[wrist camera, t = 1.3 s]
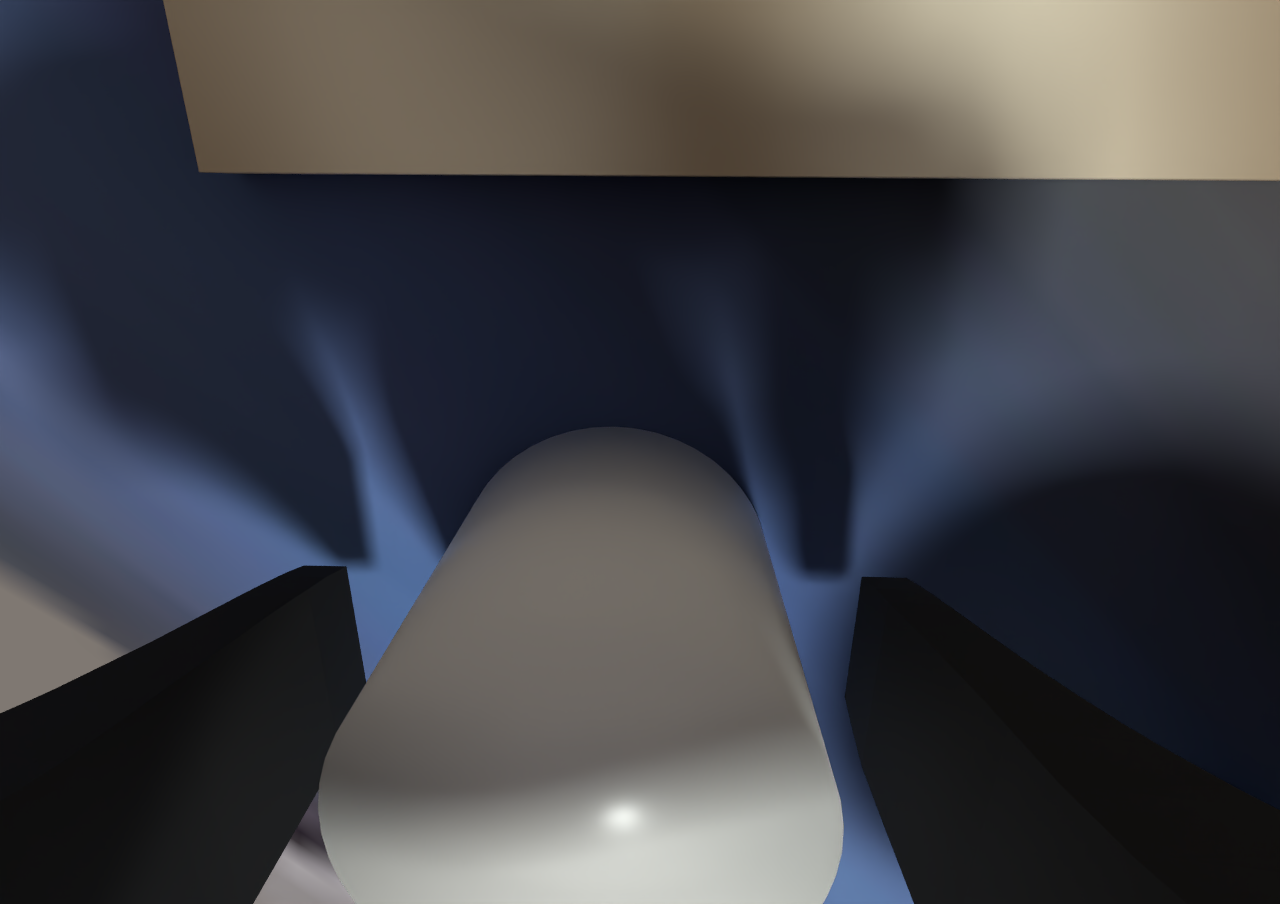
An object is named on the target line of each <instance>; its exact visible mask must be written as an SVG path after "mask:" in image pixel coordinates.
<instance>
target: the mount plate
mask: <svg viewBox="0 0 1280 904" xmlns="http://www.w3.org/2000/svg"><path fill="white" fill-rule="evenodd" d="M163 2H164V7H165V12H166V16H167V21H168V26H169V31H170V36H171V40H172V45H173V50H174V55H175V59H176V64H177V69H178V74H179V79H180V83H181V88H182V93H183V98H184V102H185V107H186V112H187V117H188V122H189V126H190V131H191V136H192V141H193V145H194V150H195V155H196V160H197V164H198V169H199V172H209V173H236V174H372V175H514V176H657V177H799V178H942V179H1084V180H1226V181H1280V0H163Z"/></svg>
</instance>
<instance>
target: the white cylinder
mask: <svg viewBox="0 0 1280 904" xmlns="http://www.w3.org/2000/svg"><path fill="white" fill-rule="evenodd" d="M318 811H319V819H320V826H321V834H322V837H323V840H324V844H325V847H326V850H327V853H328V856H329V859H330V861H331V863H332V865H333V867H334V869H335V871H336V873H337V875H338V878H339V880H340V882H341V883H342V885H343V886H344V887H345V889H346V890H347V892H348V893H349V895H350V896H351V898H352V899H353V901H354V902H355V904H823V902H824V901H825V899H826V897H827V895H828V893H829V890H830V888H831V886H832V884H833V881H834V879H835V877H836V874H837V870H838V866H839V862H840V858H841V854H842V844H843V829H844V824H843V816H842V807H841V800H840V796H839V793H838V789H837V786H836V782H835V779H834V775H833V772H832V768H831V765H830V762H829V758H828V755H827V751H826V748H825V744H824V741H823V737H822V734H821V731H820V727H819V724H818V720H817V717H816V713H815V710H814V706H813V703H812V699H811V696H810V693H809V689H808V686H807V682H806V679H805V675H804V672H803V668H802V665H801V662H800V658H799V655H798V651H797V648H796V644H795V641H794V637H793V634H792V630H791V627H790V624H789V620H788V617H787V613H786V610H785V606H784V603H783V599H782V596H781V593H780V589H779V586H778V582H777V579H776V575H775V572H774V568H773V565H772V561H771V558H770V555H769V551H768V548H767V544H766V541H765V537H764V534H763V531H762V527H761V524H760V521H759V519H758V517H757V515H756V512H755V510H754V508H753V506H752V504H751V502H750V501H749V499H748V498H747V496H746V495H745V493H744V492H743V490H742V489H741V488H740V486H739V485H738V484H737V483H736V482H735V481H734V480H733V478H732V477H731V476H730V475H729V474H728V473H727V472H726V471H725V470H724V469H722V468H721V467H720V466H719V465H718V464H717V463H715V462H714V461H713V460H712V459H710V458H709V457H707V456H706V455H704V454H703V453H701V452H700V451H698V450H696V449H695V448H693V447H691V446H689V445H687V444H685V443H682V442H680V441H678V440H676V439H673V438H670V437H667V436H665V435H662V434H659V433H656V432H651V431H646V430H641V429H636V428H625V427H593V428H586V429H580V430H574V431H569V432H566V433H563V434H560V435H557V436H553V437H550V438H548V439H546V440H544V441H541V442H539V443H537V444H535V445H533V446H531V447H529V448H528V449H526V450H525V451H523V452H521V453H520V454H518V455H517V456H515V457H514V458H513V459H511V460H510V461H509V462H508V463H507V464H506V465H504V466H503V467H502V468H501V469H500V470H499V471H498V472H497V473H496V474H495V475H494V477H493V478H492V479H491V480H490V481H489V482H488V483H487V485H486V486H485V488H484V489H483V491H482V492H481V494H480V495H479V497H478V499H477V500H476V502H475V503H474V505H473V507H472V508H471V510H470V512H469V513H468V515H467V517H466V518H465V520H464V522H463V523H462V525H461V527H460V528H459V530H458V532H457V533H456V535H455V537H454V538H453V540H452V542H451V543H450V545H449V547H448V548H447V550H446V552H445V553H444V555H443V557H442V558H441V560H440V561H439V563H438V565H437V566H436V568H435V570H434V571H433V573H432V575H431V576H430V578H429V580H428V581H427V583H426V585H425V586H424V588H423V590H422V591H421V593H420V595H419V596H418V598H417V600H416V601H415V603H414V605H413V606H412V608H411V610H410V611H409V613H408V615H407V616H406V618H405V620H404V621H403V623H402V625H401V626H400V628H399V629H398V631H397V633H396V634H395V636H394V638H393V639H392V641H391V643H390V644H389V646H388V648H387V649H386V651H385V653H384V654H383V656H382V658H381V659H380V661H379V663H378V664H377V666H376V668H375V669H374V671H373V673H372V674H371V676H370V678H369V679H368V681H367V683H366V684H365V686H364V688H363V689H362V691H361V693H360V694H359V696H358V697H357V699H356V701H355V702H354V704H353V706H352V707H351V709H350V711H349V712H348V714H347V716H346V717H345V719H344V721H343V722H342V724H341V726H340V727H339V729H338V731H337V732H336V734H335V736H334V739H333V741H332V743H331V746H330V748H329V750H328V753H327V755H326V757H325V761H324V765H323V769H322V774H321V778H320V782H319V801H318Z"/></svg>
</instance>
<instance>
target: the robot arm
mask: <svg viewBox="0 0 1280 904" xmlns="http://www.w3.org/2000/svg"><path fill="white" fill-rule="evenodd" d="M365 684H366V679H365V673H364V667H363V661H362V655H361V649H360V644H359V638H358V632H357V626H356V620H355V614H354V608H353V603H352V597H351V591H350V585H349V579H348V573H347V567H346V566H302V567H299V568H297V569H294V570H292V571H289V572H287V573H285V574H282V575H280V576H278V577H276V578H274V579H272V580H270V581H268V582H266V583H264V584H262V585H260V586H258V587H256V588H254V589H252V590H250V591H248V592H246V593H244V594H242V595H240V596H238V597H236V598H234V599H232V600H231V601H229V602H227V603H225V604H223V605H221V606H219V607H217V608H215V609H213V610H211V611H209V612H208V613H206V614H204V615H202V616H200V617H198V618H196V619H194V620H192V621H190V622H188V623H187V624H185V625H183V626H181V627H179V628H177V629H175V630H173V631H171V632H169V633H167V634H165V635H164V636H162V637H160V638H158V639H156V640H154V641H152V642H150V643H148V644H146V645H144V646H142V647H140V648H138V649H136V650H134V651H132V652H130V653H128V654H126V655H123V656H121V657H119V658H117V659H115V660H113V661H111V662H109V663H107V664H105V665H103V666H101V667H99V668H97V669H95V670H93V671H91V672H89V673H87V674H85V675H83V676H80V677H78V678H76V679H74V680H72V681H70V682H68V683H66V684H64V685H62V686H60V687H58V688H56V689H54V690H52V691H50V692H47V693H45V694H43V695H41V696H38V697H36V698H34V699H32V700H30V701H27V702H25V703H23V704H21V705H19V706H16V707H14V708H12V709H9V710H7V711H5V712H3V713H0V904H253V903H254V901H255V900H256V898H257V896H258V894H259V893H260V891H261V889H262V887H263V886H264V884H265V882H266V880H267V879H268V877H269V875H270V873H271V872H272V870H273V868H274V866H275V865H276V863H277V861H278V859H279V858H280V856H281V854H282V852H283V851H284V849H285V847H286V846H287V844H288V842H289V840H290V839H291V837H292V835H293V833H294V832H295V830H296V828H297V826H298V825H299V823H300V821H301V819H302V818H303V816H304V814H305V812H306V811H307V809H308V807H309V805H310V804H311V802H312V800H313V798H314V797H315V795H316V793H317V791H318V789H319V782H320V778H321V774H322V769H323V765H324V761H325V757H326V755H327V753H328V750H329V748H330V746H331V743H332V741H333V739H334V736H335V734H336V732H337V731H338V729H339V727H340V726H341V724H342V722H343V721H344V719H345V717H346V716H347V714H348V712H349V711H350V709H351V707H352V706H353V704H354V702H355V701H356V699H357V697H358V696H359V694H360V693H361V691H362V689H363V688H364V686H365ZM845 700H846V704H847V708H848V713H849V717H850V721H851V726H852V730H853V734H854V738H855V742H856V746H857V750H858V754H859V758H860V761H861V765H862V768H863V771H864V774H865V776H866V779H867V782H868V784H869V787H870V790H871V792H872V795H873V798H874V800H875V803H876V806H877V808H878V811H879V814H880V816H881V819H882V822H883V824H884V827H885V829H886V832H887V835H888V837H889V840H890V842H891V845H892V848H893V850H894V853H895V855H896V858H897V861H898V863H899V866H900V868H901V871H902V874H903V876H904V879H905V881H906V884H907V886H908V889H909V892H910V894H911V897H912V899H913V902H914V904H1280V810H1278V809H1276V808H1275V807H1273V806H1271V805H1269V804H1267V803H1265V802H1263V801H1261V800H1259V799H1257V798H1255V797H1253V796H1251V795H1249V794H1247V793H1245V792H1243V791H1241V790H1240V789H1238V788H1236V787H1234V786H1232V785H1230V784H1228V783H1227V782H1225V781H1223V780H1221V779H1219V778H1218V777H1216V776H1214V775H1212V774H1210V773H1208V772H1207V771H1205V770H1203V769H1201V768H1199V767H1198V766H1196V765H1194V764H1192V763H1190V762H1189V761H1187V760H1185V759H1183V758H1181V757H1180V756H1178V755H1176V754H1174V753H1172V752H1171V751H1169V750H1167V749H1165V748H1163V747H1161V746H1160V745H1158V744H1156V743H1155V742H1153V741H1151V740H1150V739H1148V738H1146V737H1144V736H1143V735H1141V734H1139V733H1138V732H1136V731H1134V730H1133V729H1131V728H1129V727H1128V726H1126V725H1124V724H1123V723H1121V722H1119V721H1118V720H1116V719H1115V718H1113V717H1111V716H1110V715H1108V714H1107V713H1105V712H1104V711H1102V710H1100V709H1099V708H1097V707H1096V706H1094V705H1092V704H1091V703H1089V702H1088V701H1086V700H1085V699H1083V698H1081V697H1080V696H1078V695H1077V694H1075V693H1073V692H1072V691H1070V690H1069V689H1067V688H1066V687H1064V686H1063V685H1061V684H1060V683H1058V682H1057V681H1055V680H1054V679H1052V678H1051V677H1049V676H1048V675H1046V674H1045V673H1043V672H1042V671H1040V670H1039V669H1037V668H1036V667H1034V666H1033V665H1031V664H1030V663H1029V662H1027V661H1026V660H1024V659H1023V658H1021V657H1020V656H1018V655H1017V654H1016V653H1014V652H1013V651H1011V650H1010V649H1008V648H1007V647H1006V646H1004V645H1003V644H1001V643H1000V642H998V641H997V640H996V639H994V638H993V637H991V636H990V635H989V634H987V633H986V632H984V631H983V630H982V629H980V628H979V627H977V626H976V625H975V624H973V623H972V622H970V621H969V620H968V619H966V618H965V617H964V616H962V615H961V614H959V613H958V612H957V611H955V610H954V609H952V608H951V607H950V606H948V605H947V604H945V603H944V602H942V601H941V600H940V599H938V598H937V597H935V596H934V595H933V594H931V593H930V592H928V591H927V590H925V589H924V588H922V587H921V586H919V585H918V584H916V583H914V582H913V581H911V580H909V579H908V578H888V577H862V580H861V587H860V594H859V601H858V608H857V615H856V622H855V629H854V636H853V643H852V650H851V657H850V664H849V670H848V677H847V684H846V691H845Z"/></svg>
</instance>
